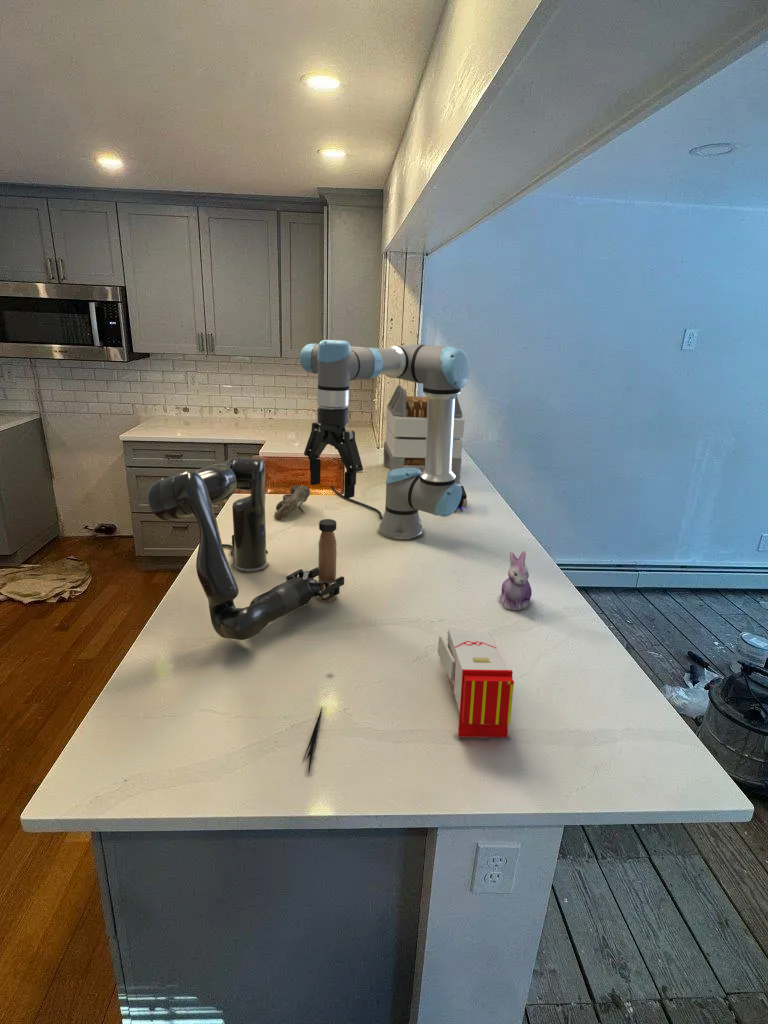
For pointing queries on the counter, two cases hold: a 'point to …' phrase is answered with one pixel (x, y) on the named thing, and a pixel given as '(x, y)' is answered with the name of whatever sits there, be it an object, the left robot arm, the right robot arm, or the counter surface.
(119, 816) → the counter surface
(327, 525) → the cap
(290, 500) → the fossil
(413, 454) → the stacked slatted crates
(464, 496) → the figurine character
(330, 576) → the bottle
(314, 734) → the feather
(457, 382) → the right robot arm
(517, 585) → the figurine
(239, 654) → the counter surface
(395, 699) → the counter surface
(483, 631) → the toy
